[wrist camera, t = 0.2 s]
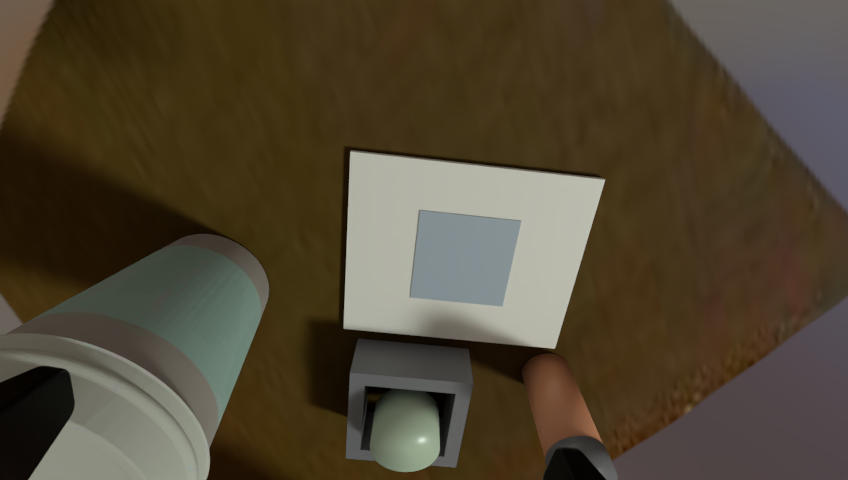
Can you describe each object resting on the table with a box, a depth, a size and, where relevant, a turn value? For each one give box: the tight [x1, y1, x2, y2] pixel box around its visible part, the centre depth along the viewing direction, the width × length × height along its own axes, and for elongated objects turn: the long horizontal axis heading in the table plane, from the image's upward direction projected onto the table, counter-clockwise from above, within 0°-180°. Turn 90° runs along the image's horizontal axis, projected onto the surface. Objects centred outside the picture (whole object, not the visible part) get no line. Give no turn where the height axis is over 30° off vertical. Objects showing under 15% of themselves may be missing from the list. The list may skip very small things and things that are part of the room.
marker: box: [522, 353, 618, 480], centre depth 22 cm, size 3×3×7 cm
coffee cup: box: [0, 234, 269, 480], centre depth 18 cm, size 9×8×12 cm
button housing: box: [346, 338, 473, 467], centre depth 25 cm, size 6×6×3 cm
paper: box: [343, 150, 605, 349], centre depth 22 cm, size 10×12×1 cm
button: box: [370, 389, 440, 472], centre depth 23 cm, size 4×4×2 cm
